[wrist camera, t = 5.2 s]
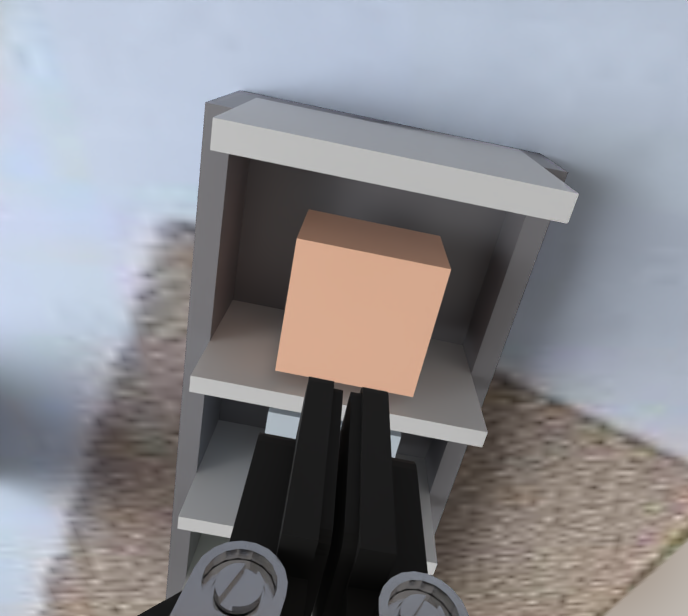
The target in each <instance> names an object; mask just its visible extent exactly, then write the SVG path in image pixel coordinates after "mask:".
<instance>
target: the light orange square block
mask: <svg viewBox="0 0 688 616" xmlns="http://www.w3.org/2000/svg"><path fill="white" fill-rule="evenodd" d="M450 272H451V267H450V264H449V261H448V258H447V255H446V252H445V249H444V246H443V243H442V240H441V237H440V236H438V235H433V234H428V233H423V232H418V231H413V230H408V229H403V228H398V227H393V226H388V225H384V224H379V223H374V222H369V221H364V220H359V219H354V218H349V217H344V216H339V215H335V214H330V213H325V212H320V211H315V210H310V209H309V210H308V212H307V214H306V217H305V219H304V222H303V224H302V227H301V229H300V232H299V234H298V236H297V240H296V246H295V252H294V258H293V264H292V270H291V276H290V283H289V289H288V295H287V301H286V307H285V313H284V319H283V325H282V331H281V337H280V343H279V350H278V356H277V362H276V368H275V371H280V372H285V373H290V374H295V375H301V376H306V377H309V376H310V377H315V378H320V379H325V380H330V381H334V382H337V383H342V384H347V385H352V386H358V387H366V388H371V389H376V390H382V391H387V392H389V393H394V394H399V395H404V396H409V397H413V395H414V392H415V389H416V385H417V382H418V379H419V375H420V372H421V369H422V365H423V362H424V359H425V355H426V352H427V349H428V345H429V342H430V339H431V335H432V332H433V329H434V325H435V322H436V318H437V315H438V312H439V308H440V305H441V302H442V298H443V295H444V292H445V288H446V285H447V282H448V278H449V275H450Z"/></svg>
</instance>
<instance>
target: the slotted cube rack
mask: <svg viewBox="0 0 688 616" xmlns="http://www.w3.org/2000/svg"><path fill="white" fill-rule="evenodd" d="M567 174H568V172H567V171H565V170H564V169H562V168H561V167H559V166H558V165H556V164H555V163H553V162H552V161H550V160H549V159H548V158H546V157H545V156H543V155H542V154H539V153H534V152H530V151H525V150H520V149H515V148H511V147H506V146H501V145H496V144H492V143H487V142H482V141H477V140H473V139H468V138H463V137H458V136H454V135H449V134H444V133H439V132H435V131H430V130H425V129H420V128H416V127H411V126H406V125H401V124H397V123H392V122H387V121H382V120H378V119H373V118H368V117H363V116H359V115H354V114H349V113H344V112H340V111H335V110H330V109H325V108H321V107H316V106H311V105H306V104H302V103H297V102H292V101H287V100H283V99H278V98H273V97H268V96H264V95H259V94H254V93H249V92H245V91H237V92H234V93H231V94H228V95H225V96H222V97H219V98H217V99H214V100H211V101H208V102H205V114H204V127H203V139H202V152H201V164H200V177H199V189H198V202H197V214H196V227H195V240H194V252H193V265H192V277H191V290H190V302H189V315H188V327H187V340H186V352H185V365H184V377H183V390H182V402H181V415H180V428H179V440H178V453H177V465H176V478H175V490H174V503H173V515H172V528H171V540H170V553H169V565H168V578H167V591H166V599H168V598H170V597H172V596H173V595H175V594H177V593H179V592H180V591H182V590H183V589H184V587H185V585H186V583H187V581H188V579H189V577H190V575H191V573H192V571H193V569H194V567H195V566H196V564H197V563H198V562H199V560H200V559H201V558H202V556H203V555H204V554H206V553H207V552H208V551H210V550H211V549H212V548H214V547H216V546H218V545H221V544H224V543H226V542H229V541H230V537H231V534H232V530H233V526H234V523H235V519H236V515H237V512H238V508H239V504H240V501H241V497H242V493H243V490H244V486H245V482H246V479H247V475H248V471H249V468H250V464H251V460H252V457H253V453H254V449H255V446H256V442H257V439H258V435H259V433H260V432H261V433H265V429H266V423H267V417H268V411H269V408H270V407H273V408H278V409H283V410H289V411H294V412H299V413H301V411H302V406H303V401H304V397H305V392H306V387H307V383H308V378H309V377H306V376H301V375H295V374H290V373H285V372H280V371H275V368H276V362H277V356H278V350H279V343H280V337H281V331H282V325H283V319H284V313H285V307H286V301H287V295H288V289H289V283H290V276H291V270H292V264H293V258H294V252H295V246H296V240H297V236H298V234H299V232H300V229H301V227H302V224H303V222H304V219H305V217H306V214H307V212H308V210H309V209H310V210H315V211H320V212H325V213H330V214H335V215H339V216H344V217H349V218H354V219H359V220H364V221H369V222H374V223H379V224H384V225H388V226H393V227H398V228H403V229H408V230H413V231H418V232H423V233H428V234H433V235H438V236H440V237H441V240H442V243H443V246H444V249H445V252H446V255H447V258H448V261H449V264H450V267H451V272H450V275H449V278H448V282H447V285H446V288H445V292H444V295H443V298H442V302H441V305H440V308H439V312H438V315H437V318H436V322H435V325H434V329H433V332H432V335H431V339H430V342H429V345H428V349H427V352H426V355H425V359H424V362H423V365H422V369H421V372H420V375H419V379H418V382H417V385H416V389H415V392H414V395H413V397H409V396H404V395H399V394H394V393H389V392H388V395H389V413H390V430H394V431H399V432H401V439H400V442H399V445H398V449H397V452H396V456H395V458H398V459H404V460H409V461H414V462H415V464H416V467H417V474H418V483H419V493H420V502H421V512H422V521H423V531H424V540H425V550H426V559H427V569H428V574H430V575H433V574H434V571H435V569H436V566H437V555H436V547H435V538H434V535H435V532H436V530H437V527H438V524H439V522H440V519H441V516H442V513H443V511H444V508H445V505H446V503H447V500H448V497H449V494H450V492H451V489H452V486H453V484H454V481H455V478H456V475H457V473H458V470H459V467H460V465H461V462H462V459H463V456H464V454H465V451H466V448H467V446H468V445H472V446H478V447H482V446H483V444H484V441H485V438H486V436H487V433H488V432H487V428H486V425H485V421H484V418H483V414H482V411H481V407H482V405H483V402H484V399H485V397H486V394H487V391H488V388H489V386H490V383H491V380H492V378H493V375H494V372H495V369H496V367H497V364H498V361H499V359H500V356H501V353H502V350H503V348H504V345H505V342H506V340H507V337H508V334H509V331H510V329H511V326H512V323H513V320H514V318H515V315H516V312H517V310H518V307H519V304H520V301H521V299H522V296H523V293H524V291H525V288H526V285H527V282H528V280H529V277H530V274H531V272H532V269H533V266H534V263H535V261H536V258H537V255H538V253H539V250H540V247H541V244H542V242H543V239H544V236H545V234H546V231H547V228H548V225H549V223H550V220H552V221H557V222H562V223H566V224H568V222H569V219H570V217H571V214H572V211H573V209H574V206H575V203H576V201H577V198H578V196H579V193H577V192H576V191H575V190H573V189H572V188H571V187H569V186H568V185H567V184H565V183H564V182H565V179H566V176H567ZM334 388H335V389H340V390H343V402H342V415H341V421H343V419H344V415H345V411H346V407H347V403H348V399H349V396H350V393H351V392H355V393H360V390H361V388H362V387H358V386H352V385H347V384H342V383H337V382H334ZM311 616H312V615H311Z"/></svg>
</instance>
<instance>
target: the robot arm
mask: <svg viewBox="0 0 688 616" xmlns="http://www.w3.org/2000/svg"><path fill="white" fill-rule="evenodd" d="M342 402H343V390H340V389H335V388H334V381H330V380H325V379H320V378H315V377H310V376H309V378H308V383H307V387H306V392H305V397H304V401H303V406H302V411H301V415H300V420H299V425H298V430H297V434H296V439H293V438H287V437H282V436H277V435H272V434H266V433H261V432H260V433H259V435H258V439H257V442H256V446H255V449H254V453H253V457H252V460H251V464H250V468H249V471H248V475H247V479H246V482H245V486H244V490H243V493H242V497H241V501H240V504H239V508H238V512H237V515H236V519H235V523H234V526H233V530H232V534H231V537H230V541H229V542H226V543H224V544H221V545H218V546H216V547H214V548H212V549H211V550H210V551H208V552H207V553H206V554H204V555H203V556H202V558H201V559H200V560H199V562H198V563H197V564H196V566H195V567H194V569H193V571H192V573H191V575H190V577H189V579H188V581H187V583H186V585H185V587H184V589H183V590H182V591H180V592H179V593H177V594H175V595H173V596H172V597H170V598H168V599H166V600H165V601H163V602H161V603H159V604H157V605H156V606H154V607H152V608H150V609H149V610H147V611H145V612H143V613H142V614H140V615H138V616H311V615H312V616H469V615H468V612H467V610H466V608H465V606H464V604H463V602H462V600H461V599H460V598H459V596H458V595H457V594H456V593H455V592H454V590H453V589H452V588H450V587H449V586H448V585H447V584H445V583H444V582H443V581H442V580H440V579H438V578H436V577H433V576H431V575H429V574H428V569H427V559H426V550H425V540H424V531H423V521H422V512H421V502H420V493H419V483H418V474H417V467H416V464H415V462H414V461H409V460H404V459H398V458H393V457H392V453H391V433H390V413H389V395H388V392H387V391H382V390H376V389H371V388H366V387H362V388H361V390H360V393H355V392H351V393H350V396H349V399H348V403H347V407H346V411H345V415H344V419H343V422H342V426H341V415H342ZM340 429H341V430H340Z"/></svg>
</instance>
